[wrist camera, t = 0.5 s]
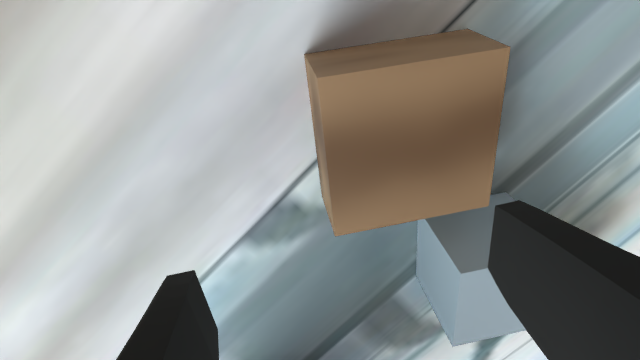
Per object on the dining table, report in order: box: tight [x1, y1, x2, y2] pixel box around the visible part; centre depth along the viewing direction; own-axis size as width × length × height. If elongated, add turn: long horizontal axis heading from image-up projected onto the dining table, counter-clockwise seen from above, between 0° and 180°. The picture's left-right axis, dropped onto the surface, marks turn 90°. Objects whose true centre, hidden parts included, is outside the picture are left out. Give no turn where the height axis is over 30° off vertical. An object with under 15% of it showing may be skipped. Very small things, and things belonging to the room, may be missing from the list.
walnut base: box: [304, 29, 510, 236], centre depth 18 cm, size 7×7×4 cm
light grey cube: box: [416, 192, 526, 347], centre depth 22 cm, size 5×5×5 cm
